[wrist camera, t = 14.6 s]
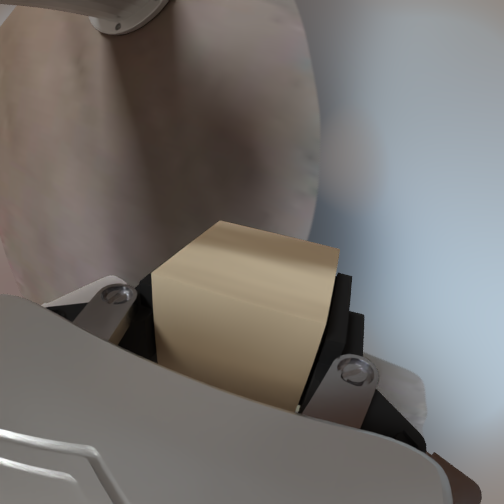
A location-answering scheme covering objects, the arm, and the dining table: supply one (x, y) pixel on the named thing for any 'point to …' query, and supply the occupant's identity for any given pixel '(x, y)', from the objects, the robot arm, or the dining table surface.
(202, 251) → the maple block
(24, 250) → the dining table surface
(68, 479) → the robot arm
